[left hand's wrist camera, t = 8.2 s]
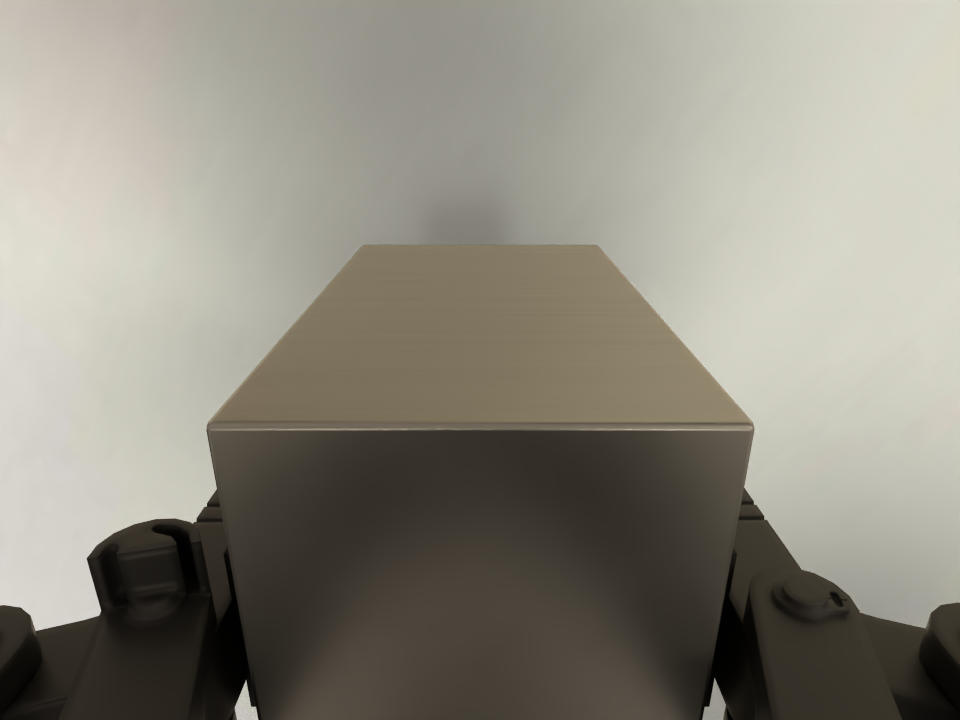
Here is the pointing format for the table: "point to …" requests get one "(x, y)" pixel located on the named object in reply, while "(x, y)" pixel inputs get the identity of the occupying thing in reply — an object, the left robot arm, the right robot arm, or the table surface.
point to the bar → (480, 495)
